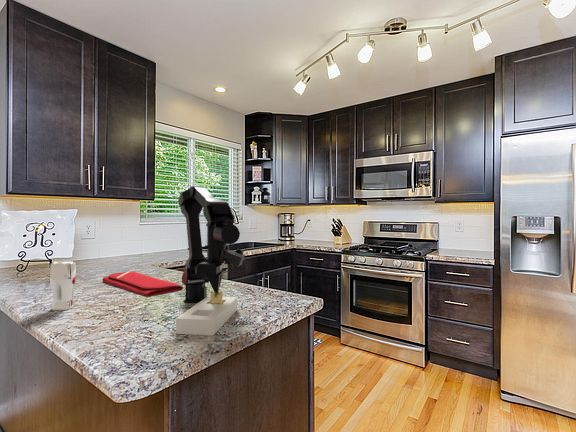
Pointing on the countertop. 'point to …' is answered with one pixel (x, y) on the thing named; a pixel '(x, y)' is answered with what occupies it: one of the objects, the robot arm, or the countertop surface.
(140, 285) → the dish drying mat
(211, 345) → the countertop surface
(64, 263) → the white carton
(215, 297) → the cylinder
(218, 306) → the block
